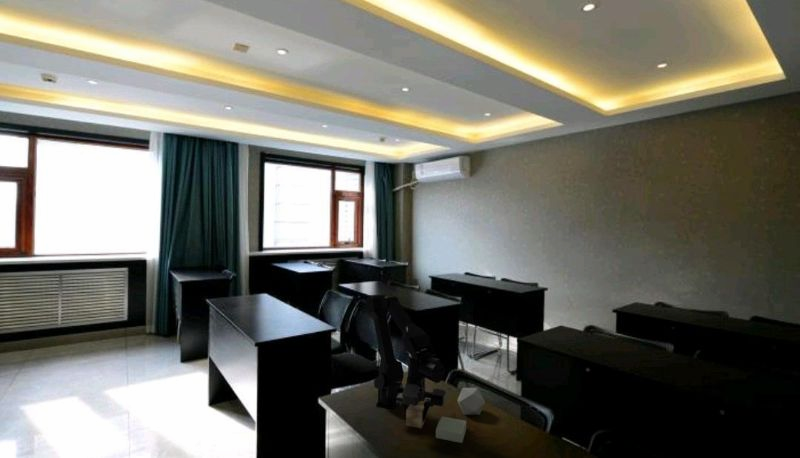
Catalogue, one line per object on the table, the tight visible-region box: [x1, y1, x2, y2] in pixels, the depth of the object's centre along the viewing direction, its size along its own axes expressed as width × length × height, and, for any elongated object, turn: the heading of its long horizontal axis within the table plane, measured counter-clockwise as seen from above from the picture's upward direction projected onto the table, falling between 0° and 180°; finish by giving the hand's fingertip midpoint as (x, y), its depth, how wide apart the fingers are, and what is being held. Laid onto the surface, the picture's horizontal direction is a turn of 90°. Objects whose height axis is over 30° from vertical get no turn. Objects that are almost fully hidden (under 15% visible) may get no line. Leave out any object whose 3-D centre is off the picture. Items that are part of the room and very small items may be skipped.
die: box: [457, 387, 486, 416], centre depth 129 cm, size 8×9×10 cm
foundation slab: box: [435, 416, 467, 444], centre depth 116 cm, size 8×8×3 cm
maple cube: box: [405, 403, 426, 429], centre depth 122 cm, size 5×5×5 cm
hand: (415, 419), depth 122 cm, fingers closed on maple cube, 5 cm apart
